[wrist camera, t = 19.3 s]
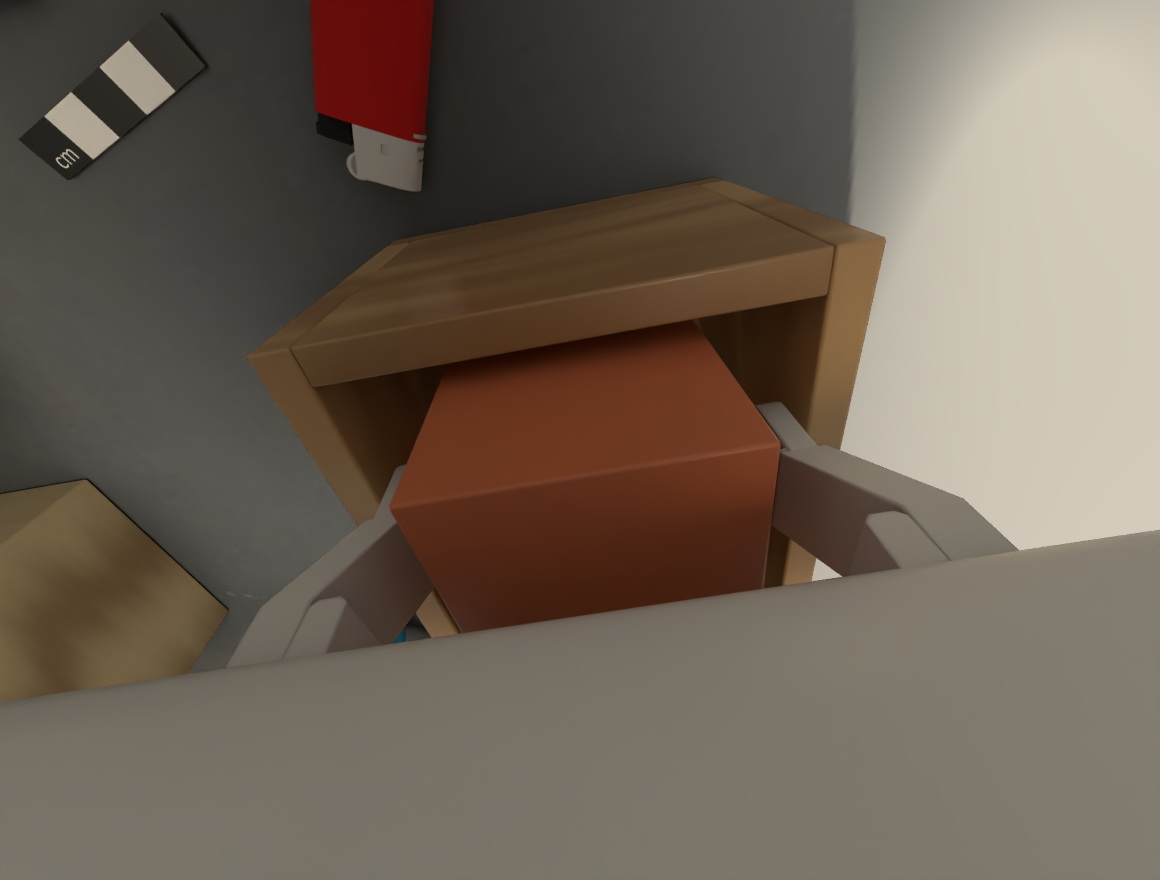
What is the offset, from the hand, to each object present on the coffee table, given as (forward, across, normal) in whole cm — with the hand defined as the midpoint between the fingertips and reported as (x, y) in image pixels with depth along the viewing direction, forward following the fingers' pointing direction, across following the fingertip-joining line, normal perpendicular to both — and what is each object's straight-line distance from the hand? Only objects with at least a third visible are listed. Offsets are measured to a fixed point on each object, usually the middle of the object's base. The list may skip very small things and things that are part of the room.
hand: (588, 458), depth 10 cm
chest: (+8, 0, +3) cm, 9 cm away
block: (+2, 0, 0) cm, 2 cm away
